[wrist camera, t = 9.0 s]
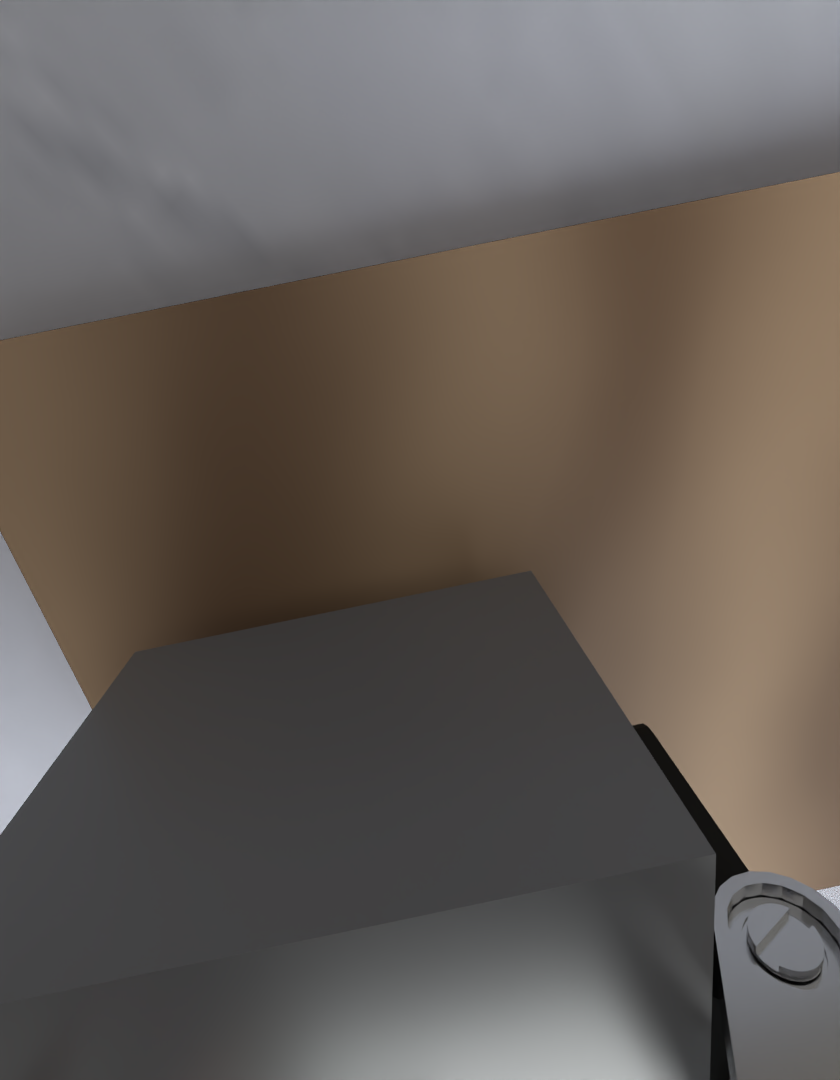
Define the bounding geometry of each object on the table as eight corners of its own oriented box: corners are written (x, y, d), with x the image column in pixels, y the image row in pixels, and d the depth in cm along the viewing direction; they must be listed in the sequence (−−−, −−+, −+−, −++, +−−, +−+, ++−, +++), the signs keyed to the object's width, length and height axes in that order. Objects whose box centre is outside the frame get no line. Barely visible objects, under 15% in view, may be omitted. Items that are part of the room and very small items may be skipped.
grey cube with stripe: (530, 570, 9) (733, 879, 4) (564, 851, 11) (715, 1261, 6) (135, 652, 9) (-172, 1070, 4) (255, 915, 11) (162, 1379, 6)
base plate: (1124, 123, 9) (1255, 88, 8) (954, 800, 15) (1012, 848, 14) (-19, 353, 9) (-90, 358, 8) (259, 948, 15) (247, 1011, 14)
